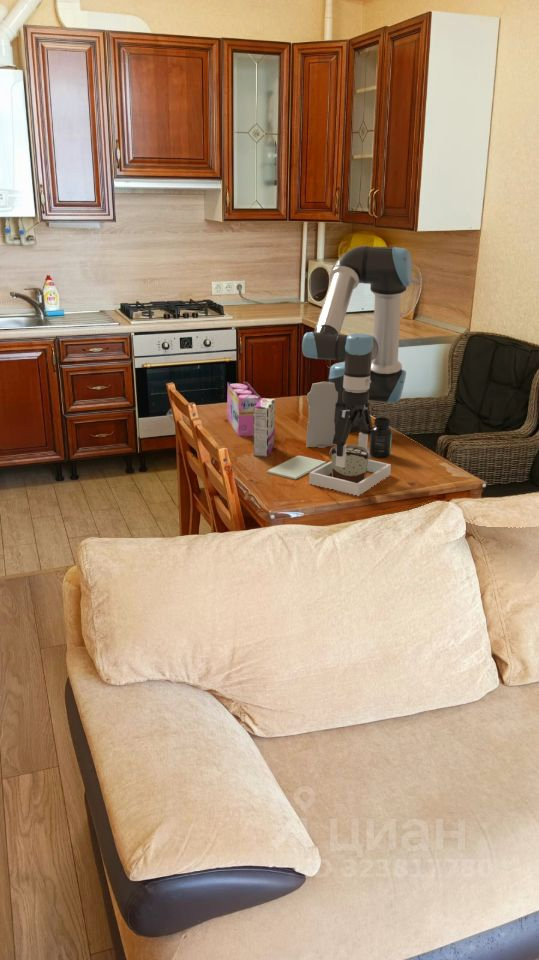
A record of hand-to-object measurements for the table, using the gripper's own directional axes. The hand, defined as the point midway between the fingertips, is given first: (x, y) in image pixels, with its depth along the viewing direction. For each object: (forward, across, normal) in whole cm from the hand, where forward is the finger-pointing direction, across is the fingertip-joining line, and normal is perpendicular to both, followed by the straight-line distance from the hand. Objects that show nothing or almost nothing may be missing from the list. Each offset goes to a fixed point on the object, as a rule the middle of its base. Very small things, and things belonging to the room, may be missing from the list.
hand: (351, 460), depth 228 cm
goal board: (+6, -1, +18) cm, 19 cm away
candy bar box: (+6, +6, +35) cm, 36 cm away
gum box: (+6, +25, +57) cm, 62 cm away
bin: (+6, 0, 0) cm, 6 cm away
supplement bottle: (+6, +26, +3) cm, 27 cm away
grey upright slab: (+6, +22, +23) cm, 33 cm away
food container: (+6, 0, 0) cm, 6 cm away
